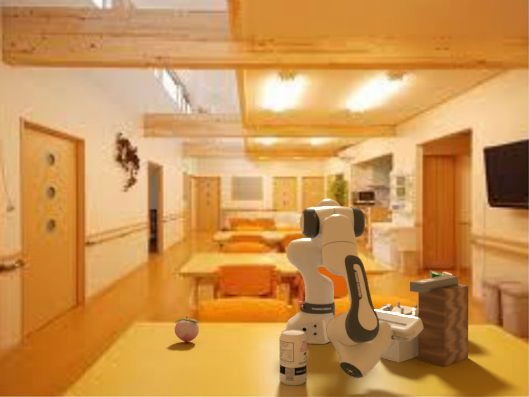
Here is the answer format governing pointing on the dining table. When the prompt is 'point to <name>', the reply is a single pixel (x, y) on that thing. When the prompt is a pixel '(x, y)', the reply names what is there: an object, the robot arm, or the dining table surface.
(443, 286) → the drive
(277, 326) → the dining table surface
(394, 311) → the dock
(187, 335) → the decorative fruit
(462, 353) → the stand
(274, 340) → the dining table surface
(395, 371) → the dining table surface
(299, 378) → the supplement can
